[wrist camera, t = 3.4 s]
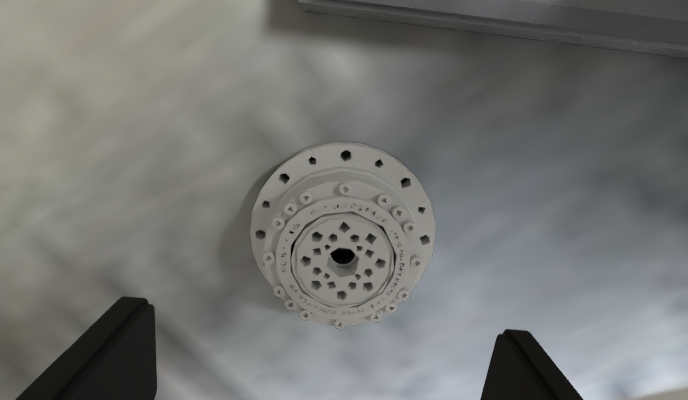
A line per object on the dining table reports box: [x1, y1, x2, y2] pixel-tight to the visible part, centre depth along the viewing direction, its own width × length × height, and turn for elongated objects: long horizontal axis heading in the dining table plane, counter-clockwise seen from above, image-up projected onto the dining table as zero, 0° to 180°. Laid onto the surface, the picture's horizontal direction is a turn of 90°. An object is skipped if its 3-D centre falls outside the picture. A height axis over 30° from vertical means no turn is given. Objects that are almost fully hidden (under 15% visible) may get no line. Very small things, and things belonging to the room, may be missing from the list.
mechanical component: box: [250, 142, 436, 330], centre depth 20 cm, size 10×4×10 cm
